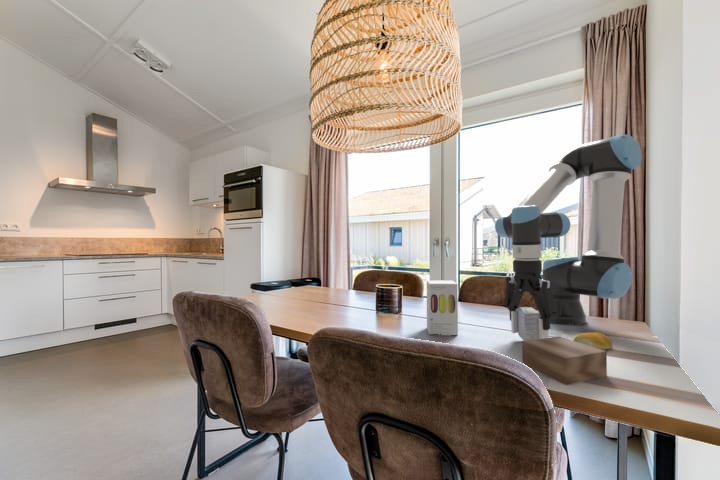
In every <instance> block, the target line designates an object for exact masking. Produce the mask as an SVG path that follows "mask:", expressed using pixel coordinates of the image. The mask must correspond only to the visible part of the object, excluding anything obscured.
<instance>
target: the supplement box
mask: <svg viewBox="0 0 720 480" xmlns="http://www.w3.org/2000/svg"><path fill="white" fill-rule="evenodd" d="M458 305H459V304H458V283H457V282H455V281H454V280H443V279H442V280H440V279H439V280H432V279H431V280H430V279H427V280H426V329H427V333H428V335H429V334H439V335H438V336H451V335H459V329H458V328H459V327H458V325H459V324H458V322H459V321H458V315H459V313H458ZM440 334H441V335H440Z"/></svg>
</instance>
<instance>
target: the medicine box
mask: <svg viewBox="0 0 720 480" xmlns="http://www.w3.org/2000/svg"><path fill="white" fill-rule="evenodd" d="M517 315H518V332H517V334H518V336H519V337H520V339H521V340H522V342H525V341H532V340H538V339H539V317H541V316H540V313H539V311H538V310H536V309H535V308H533V307H526V306H522V307H518V308H517Z"/></svg>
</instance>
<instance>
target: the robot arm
mask: <svg viewBox="0 0 720 480" xmlns="http://www.w3.org/2000/svg"><path fill="white" fill-rule="evenodd" d="M642 156H643V155H642V150H641V147H640V145H639V144H638V141H637V140H636V139H635V138H634V137H633V136H631V135H630V134H621V135H615V136H613V135H612V136H610V137H607V138H604V139H600V140H595V141H592V142H588V143H587V142H586V143H583V144H580V145H579V144H578V146H576V147H574V148H572V149H570V150H568V151H567V152H566V153H564V154H563V155H562V156H561V157H560V158H558V159H557V160H556V161H555V162H554V163H553V164H552V165H551V166H550V168H549V169H548V174H547V175H545V176H544V178H543V179H542V180H541V181H540V182H539V183H538V184H537V185H536V186H535V188H533V189H532V191H531V192H530V193H528V194H527V196H526V197H525V198H523V200H522V201H521V202H520V203H519V204H518V205H517V206H515V207H514V208H512V210H511V213H510V214H509V215H504V216H503V215H502V216H500V217H498V218H497V219H496V221H495V224H494V228H495V229H494V230H495V232H496V234H497V235H498V236H499V237H501V238H505V239H512V258H513V261H512V271H513V273H514V275H509V276H506V277H505V282H506V286H505V294H504V300H503V307H504V308H506V309H507V310H508V311H509V321H511V333H512V334H518V315H517V308H519V306H520V303H521V300H522V298H523V295H524V294H525V292H528V293H529V294H530V296H532V298H533V301H534V303H535V305H536V308H537V309H538V310H537V311H538V312H539V313H540V316H541V317H539V339H545V338H549V330H550V329H551V323H552V324H558V325H566V326H567V325H569V326H570V325H571V326H573V325H575V326H577V325H584V324H586V323H587V316H586V313H585V311H584V310H585V309H584V308H583V305H582V302H581V297H580V296H588V297H595V298H600V299H609V300H610V299H612V300H616V299H620V298H622V297H623V296H625V295H626V293H628V292H629V289H630V287H631V284H632V280H633V272H632V268H631V267H630V266H629V265H628V264H627V263H626V262H625V258H624V257H623V256H622V255H621V253H620V248H621V247H620V244H621V233H622V224H623V223H622V219H623V209H624V207H623V206H624V195H625V187H626V182H627V180H629V179H630V178H632V170H635V169H637V168H639V167H640V165H641V163H642V158H643V157H642ZM584 177H588V179H589V180H590V181H592V194H591V204H590V206H591V207H590V220H589V228H588V229H589V231H588V242H587V251H586V252H584V253H583V254H581V259H580V257H579V256H572V257H571V256H569V257H557V258H556V257H555V258H547V259H545V260H544V261H543V262H542V261H541V259H542V258H543V257H542V239H545V238H546V239H549V238H555V239H556V238H560V237H563V236H565V235H567V234H568V233H569V231H570V228H571V220H570V218H569V217H568V215H566V214H564V213H561V212H557V211H555V212H554V211H553V212H544V211H545V210H546V209H548V207H549V206H550V205H551V204H552V202H554V200H555V199H556V198H557V197H558V196H559V195H560V194H561V193H562V192H563V190H564V189H565V188H566V187H567V186H570V185H573V184H574V183H575V181H577V180H579V179H581V178H584ZM541 274H542V276H541Z"/></svg>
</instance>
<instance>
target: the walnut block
mask: <svg viewBox="0 0 720 480" xmlns="http://www.w3.org/2000/svg"><path fill="white" fill-rule="evenodd" d="M521 343H522V344H521V345H522V346H521V348H522V349H521V350H522V352H521V353H522V354H521V355H522V364H523V363H524V364H525V365H527V366H528V367H530V368H532V369H533V370H532V369H531V370H532V371H535V372H536V373H539V374H541V375H543V376H545V377H547V378H549V379H551V380H554V381H556V382H558V383H560V384H562V385H564V386H568V385H573V384H577V383H583V382H587V381H593V380H597V379H603V378H607V376H608V372H607V371H608V370H607V369H608V367H607V365H608V362H607V358H608V357H607V352H608V351H606V350H605V349H604V350H601V349H598V348H595V347H592V346H588V345H585V344H582V343H579V342H576V341H574V339H568V338H565V337H563V336H554V337H553V336H552V337H548V338H545V339H538V340H532V341H525V342H524V341H521ZM528 367H527V368H528ZM530 368H529V369H530Z"/></svg>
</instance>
